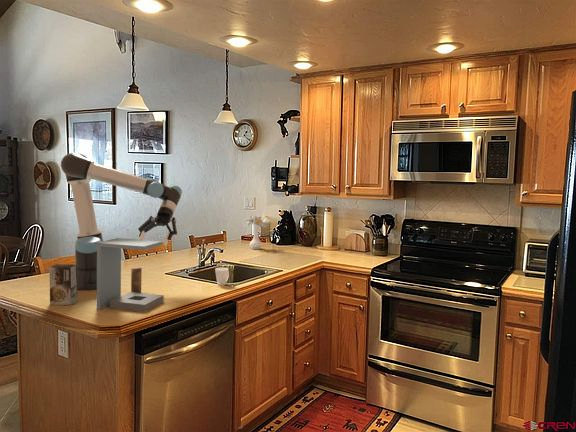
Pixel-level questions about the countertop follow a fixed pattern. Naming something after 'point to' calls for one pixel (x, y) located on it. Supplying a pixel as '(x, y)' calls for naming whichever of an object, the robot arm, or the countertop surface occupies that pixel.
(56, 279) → the coffee box
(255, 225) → the flower vase
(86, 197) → the robot arm
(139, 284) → the peg
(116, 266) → the grey l-shaped frame
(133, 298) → the socket
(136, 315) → the countertop surface
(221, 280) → the cup
